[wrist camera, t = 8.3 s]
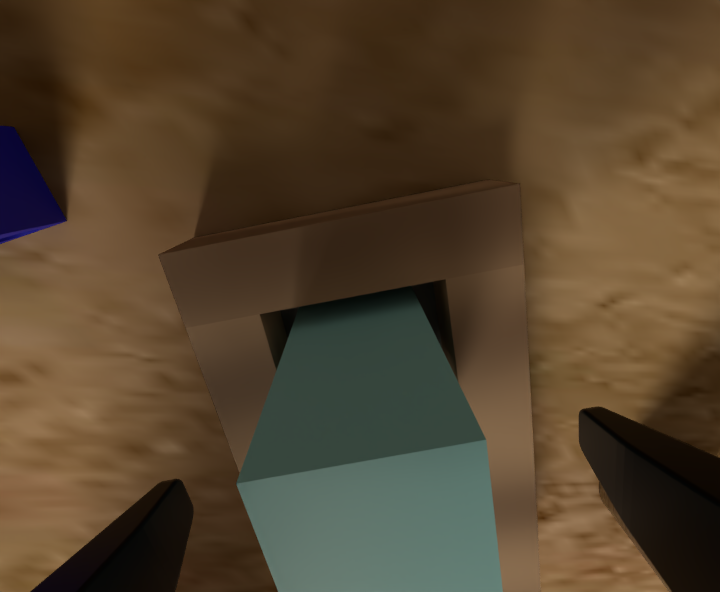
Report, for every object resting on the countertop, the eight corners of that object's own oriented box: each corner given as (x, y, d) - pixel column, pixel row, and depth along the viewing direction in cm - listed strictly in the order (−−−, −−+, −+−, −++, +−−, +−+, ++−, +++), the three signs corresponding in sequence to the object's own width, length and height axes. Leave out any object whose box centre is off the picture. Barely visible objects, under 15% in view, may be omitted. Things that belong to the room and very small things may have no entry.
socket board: (515, 534, 18) (540, 591, 15) (304, 568, 18) (297, 628, 16) (488, 179, 13) (520, 183, 10) (193, 237, 13) (158, 255, 11)
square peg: (426, 381, 15) (505, 610, 7) (324, 400, 15) (298, 642, 7) (410, 284, 14) (486, 439, 6) (299, 306, 14) (236, 483, 6)
